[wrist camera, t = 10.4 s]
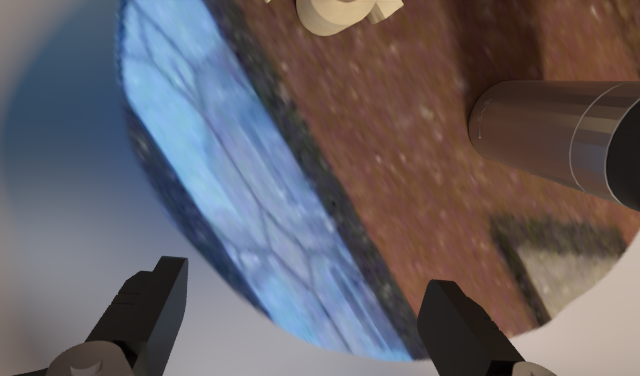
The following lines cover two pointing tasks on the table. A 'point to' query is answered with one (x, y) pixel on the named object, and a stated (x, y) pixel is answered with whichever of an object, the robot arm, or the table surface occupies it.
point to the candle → (331, 14)
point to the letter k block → (381, 9)
